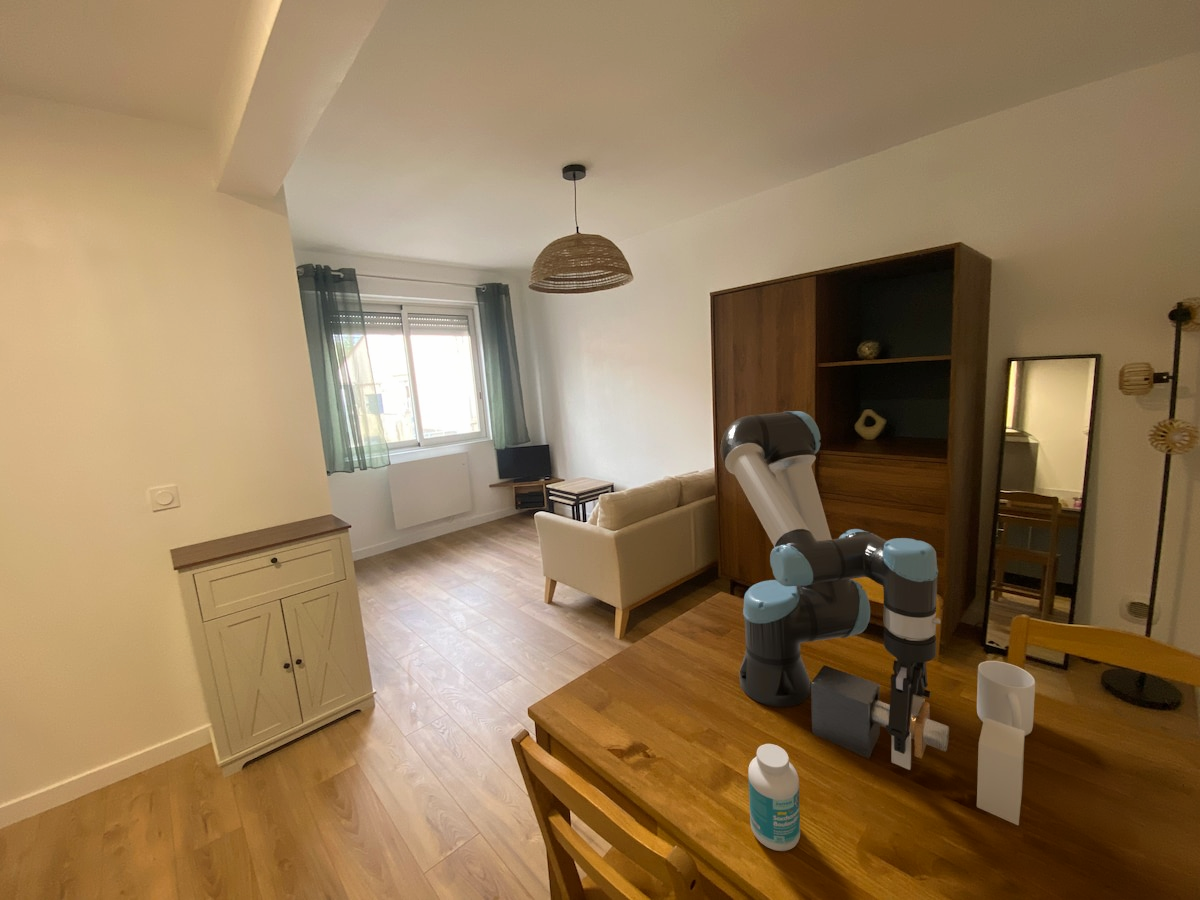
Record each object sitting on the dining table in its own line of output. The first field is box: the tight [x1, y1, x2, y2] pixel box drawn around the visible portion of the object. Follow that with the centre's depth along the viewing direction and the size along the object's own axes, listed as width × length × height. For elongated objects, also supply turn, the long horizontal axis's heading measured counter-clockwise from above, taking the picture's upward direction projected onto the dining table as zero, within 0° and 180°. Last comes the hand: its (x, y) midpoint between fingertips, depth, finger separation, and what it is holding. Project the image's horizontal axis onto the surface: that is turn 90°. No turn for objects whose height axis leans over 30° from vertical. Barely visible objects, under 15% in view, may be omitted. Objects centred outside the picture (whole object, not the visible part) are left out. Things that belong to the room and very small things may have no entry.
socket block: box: [976, 717, 1026, 826], centre depth 75 cm, size 5×7×12 cm
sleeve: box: [810, 665, 880, 759], centre depth 91 cm, size 10×7×11 cm
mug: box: [976, 660, 1036, 736], centre depth 89 cm, size 12×8×10 cm
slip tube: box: [870, 699, 950, 759], centre depth 87 cm, size 20×6×6 cm, turn 46°
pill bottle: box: [747, 743, 801, 852], centre depth 74 cm, size 8×7×14 cm
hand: (908, 745), depth 84 cm, fingers open, 10 cm apart
